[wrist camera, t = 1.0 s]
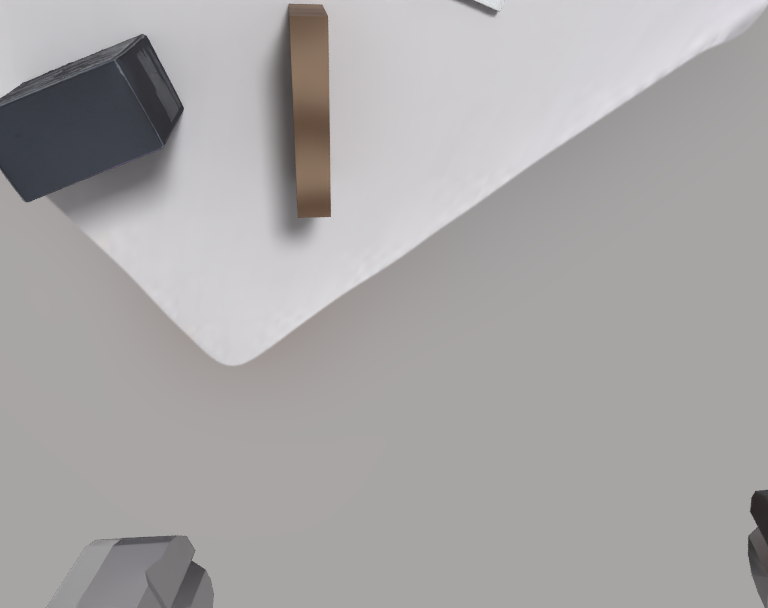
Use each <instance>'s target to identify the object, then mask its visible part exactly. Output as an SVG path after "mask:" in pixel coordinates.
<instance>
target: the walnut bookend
mask: <svg viewBox="0 0 768 608" xmlns="http://www.w3.org/2000/svg"><path fill="white" fill-rule="evenodd" d="M289 21H290V45H291V68H292V92H293V115H294V138H295V162H296V185H297V209H298V218H303V217H331V199H330V123H329V47H328V15H327V13H326V11H325V9H324V7H323V5H314V4H289Z"/></svg>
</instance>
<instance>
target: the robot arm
mask: <svg viewBox="0 0 768 608" xmlns="http://www.w3.org/2000/svg"><path fill="white" fill-rule="evenodd" d="M750 512H751V514H752V516H753V518H754V520H755V522H756V524H757V526H758V527H757V528H756V529H755V530H754V531H753V532H752V533H751V534H750V535H749V536H748V557H749V562H750V568H751V573H752V576H753V579H754V582H755V585H756V588H757V591H758V594H759V596H760V598H761V600H762V602H763V604H764V607H765V608H768V490H760V491H755V493H754V494H753V496H752V498H751V508H750ZM194 553H195V549H194V547H193V546H192V544H191V543H190V541H189V539H188V537H187V536H157V537H137V538H122V539H105V540H104V539H103V540H95V541H93V542H92V543H91V544H89V545H88V546H86V547H85V548H84V550H83V551H82V553H81V554H80V556H79V557H78V559H77V561H76V562H75V564H74V565H73V567H72V568H71V570H70V571H69V573H68V574H67V576H66V578H65V579H64V581H63V582H62V584H61V585H60V587H59V588H58V590H57V592H56V593H55V595H54V596H53V598H52V599H51V601H50V602H49V604H48V606H47V607H46V608H213V597H214V593H213V588H212V583H211V579H210V577H209V576H208V574H207V571H206V570H205V569H204V568H202V567H201V566H199V565H197V564H196V563H195V562H193V561H192V558H193V555H194Z"/></svg>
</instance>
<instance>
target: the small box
mask: <svg viewBox="0 0 768 608" xmlns="http://www.w3.org/2000/svg"><path fill="white" fill-rule="evenodd" d="M183 110H184V107H183V105H182V103H181V101H180V99H179V97H178V95H177V93H176V91H175V89H174V88H173V85H172V84H171V81H170V80H169V78H168V76H167V74H166V72H165V70H164V68H163V66H162V64H161V63H160V61H159V59H158V57H157V55H156V53H155V51H154V49H153V47H152V45H151V43H150V41H149V39H148V38H147V36H146V35H144V34H141V35H139V36H137V37H134V38H132V39H129V40H126V41H124V42H122V43H119V44H117V45H114V46H112V47H110V48H107V49H104V50H101V51H99V52H97V53H95V54H92V55H90V56H87V57H85V58H82V59H80V60H77V61H75V62H72V63H68V64H67V65H65V66H62V67H59V68H58V69H55V70H52V71H49V72H48V73H45V74H43V75H41V76H39V77H36V78H34V79H32V80H29V81H27V82H24V83H22V84H21V85H20V86H18V87H16V88H15V89H14V90H12V91H11V92H10V93H8V94H6V95H5V96H3V97H2V98H0V170H1V171H2V173H3V174H4V175H5V177H6V178H7V179H8V181H9V182H10V183H11V185H12V186H13V187H14V189H15V190H16V191H17V192H18V194H19V195H20V197H21V198H22V199H23V201H24V202H30V201H32V200H35V199H37V198H40V197H42V196H45V195H47V194H50V193H52V192H55V191H57V190H60V189H62V188H64V187H67V186H69V185H72V184H74V183H77V182H79V181H82V180H84V179H87V178H89V177H92V176H94V175H97V174H99V173H102V172H104V171H107V170H109V169H112V168H114V167H117V166H119V165H122V164H124V163H127V162H129V161H132V160H134V159H137V158H139V157H142V156H144V155H147V154H149V153H152V152H154V151H157V150H160V149H162V148H163V147H164V145H165V143H166V141H167V139H168V137H169V135H170V133H171V131H172V130H173V128H174V126H175V124H176V122H177V120H178V119H179V117H180V115H181V113H182V111H183Z"/></svg>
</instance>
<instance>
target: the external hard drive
mask: <svg viewBox="0 0 768 608" xmlns="http://www.w3.org/2000/svg"><path fill="white" fill-rule="evenodd" d="M474 1H476V2H479V3H481V4H483V5H485V6H488V7H490V8H492V9H494V10H497V11H499V12H500V10H501V8H502V6H503V3H504V1H505V0H474Z"/></svg>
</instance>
